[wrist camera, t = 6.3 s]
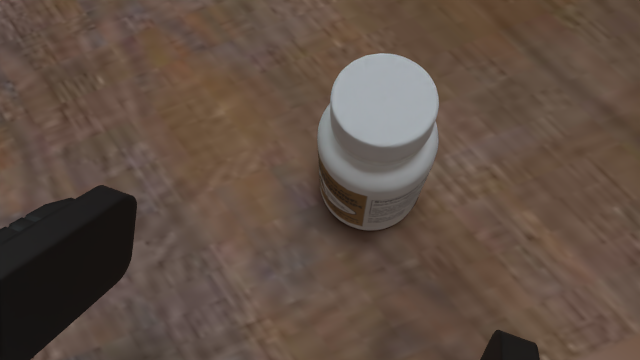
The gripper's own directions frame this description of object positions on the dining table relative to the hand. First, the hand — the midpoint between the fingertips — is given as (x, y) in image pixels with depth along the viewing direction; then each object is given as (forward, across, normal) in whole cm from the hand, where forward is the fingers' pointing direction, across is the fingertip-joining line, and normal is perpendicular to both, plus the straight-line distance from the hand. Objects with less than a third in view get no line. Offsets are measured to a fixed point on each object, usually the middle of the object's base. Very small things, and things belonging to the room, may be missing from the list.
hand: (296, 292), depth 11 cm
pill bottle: (+13, 0, +3) cm, 13 cm away
